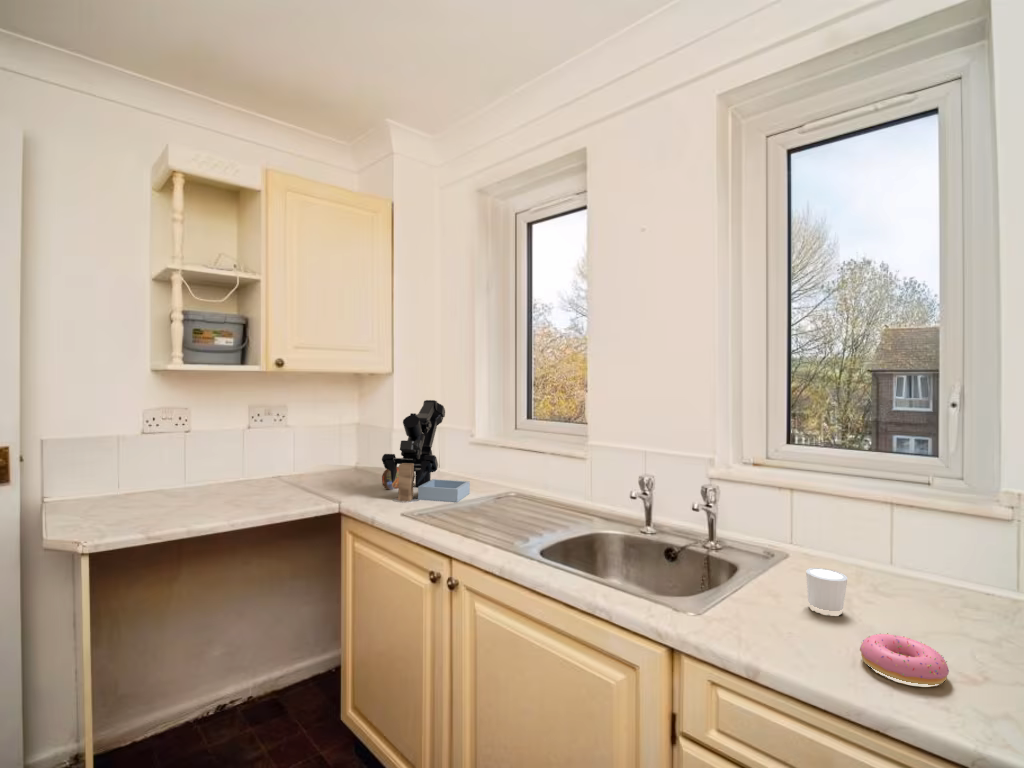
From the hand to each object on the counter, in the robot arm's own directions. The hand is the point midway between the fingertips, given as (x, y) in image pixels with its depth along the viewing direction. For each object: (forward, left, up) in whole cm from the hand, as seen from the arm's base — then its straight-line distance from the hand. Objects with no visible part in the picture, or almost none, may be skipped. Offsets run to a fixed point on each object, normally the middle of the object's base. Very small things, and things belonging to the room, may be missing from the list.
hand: (404, 482), depth 185 cm
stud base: (-1, 0, -7) cm, 7 cm away
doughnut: (+80, +115, -7) cm, 140 cm away
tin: (-19, -11, -7) cm, 23 cm away
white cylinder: (+59, +111, -7) cm, 126 cm away
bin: (-9, +11, -7) cm, 16 cm away
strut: (-1, 0, -6) cm, 6 cm away
